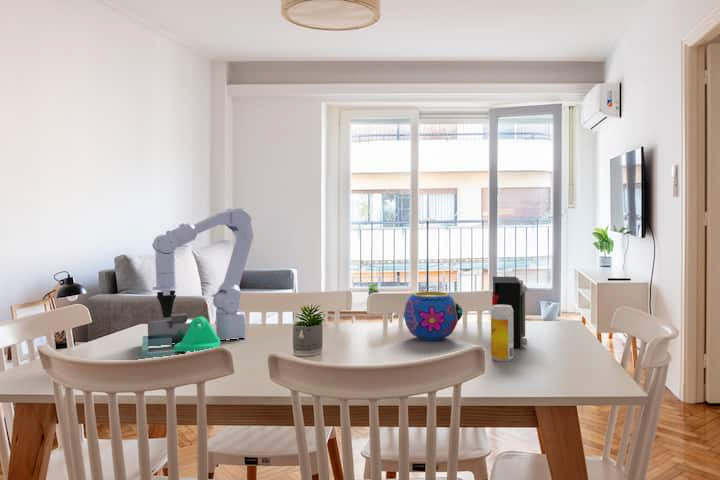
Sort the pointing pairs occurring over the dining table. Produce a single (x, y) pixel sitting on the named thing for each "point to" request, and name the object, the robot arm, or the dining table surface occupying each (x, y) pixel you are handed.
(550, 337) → the dining table surface
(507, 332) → the beer can
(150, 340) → the pump bracket
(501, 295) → the electrical component
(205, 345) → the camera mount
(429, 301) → the ceramic pot
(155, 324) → the motor housing
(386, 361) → the dining table surface
